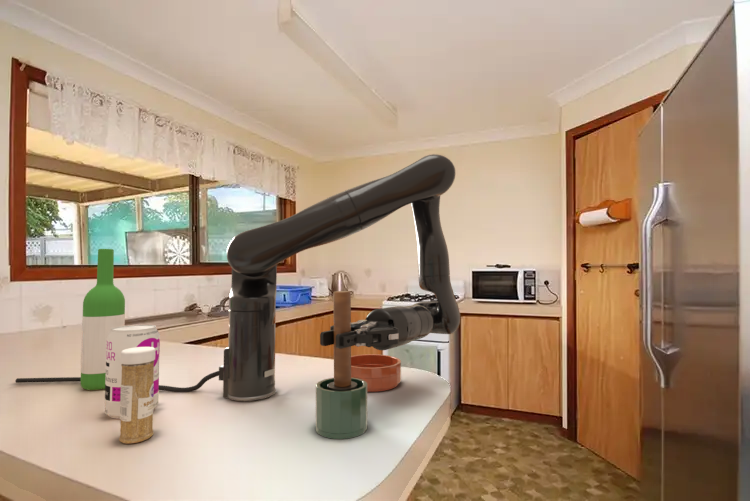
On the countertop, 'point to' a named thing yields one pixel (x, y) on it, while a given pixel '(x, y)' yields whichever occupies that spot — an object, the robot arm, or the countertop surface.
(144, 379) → the sprinkles bottle
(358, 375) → the bowl
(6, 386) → the countertop surface
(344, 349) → the brush
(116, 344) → the supplement can
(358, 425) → the pot
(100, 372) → the wine bottle
